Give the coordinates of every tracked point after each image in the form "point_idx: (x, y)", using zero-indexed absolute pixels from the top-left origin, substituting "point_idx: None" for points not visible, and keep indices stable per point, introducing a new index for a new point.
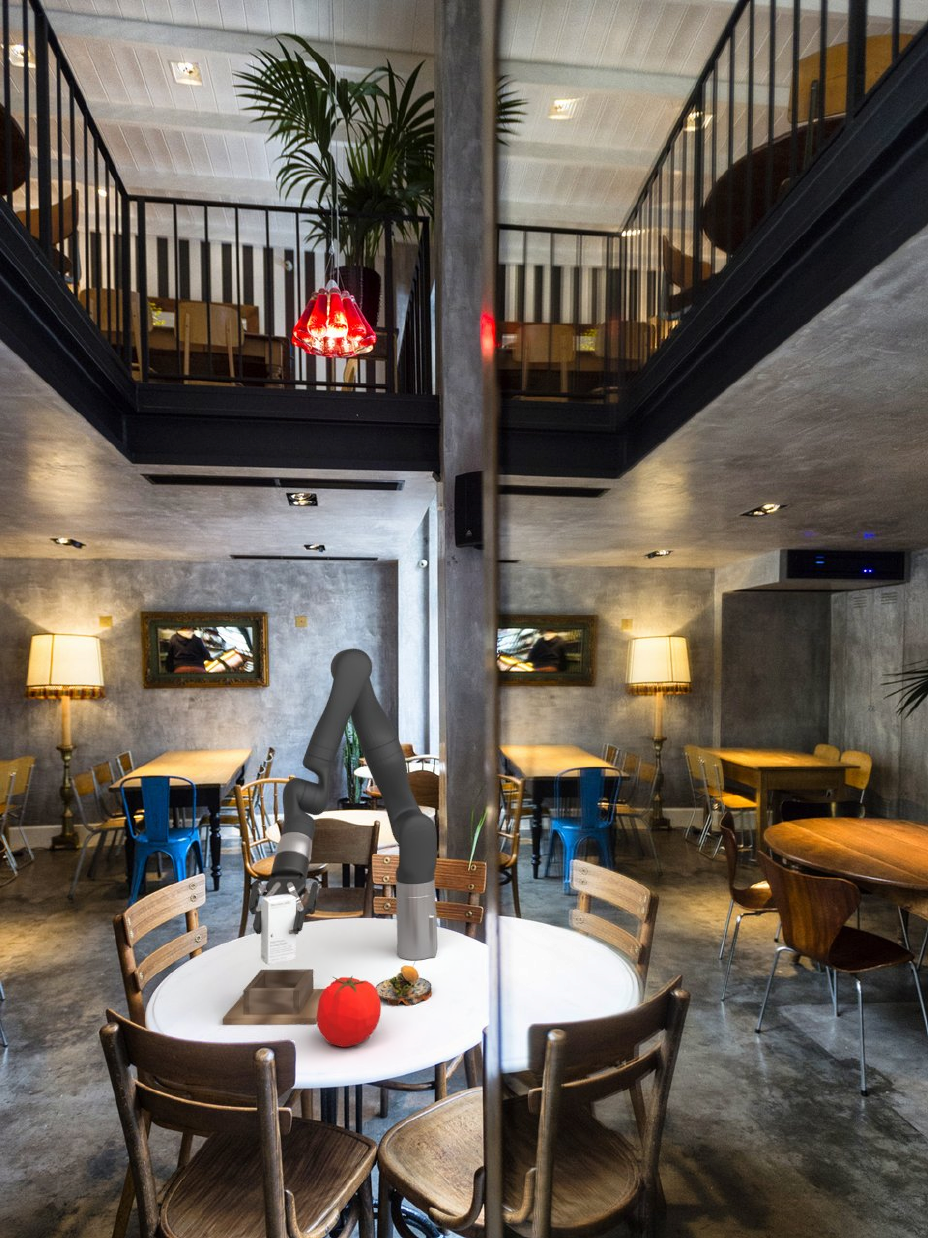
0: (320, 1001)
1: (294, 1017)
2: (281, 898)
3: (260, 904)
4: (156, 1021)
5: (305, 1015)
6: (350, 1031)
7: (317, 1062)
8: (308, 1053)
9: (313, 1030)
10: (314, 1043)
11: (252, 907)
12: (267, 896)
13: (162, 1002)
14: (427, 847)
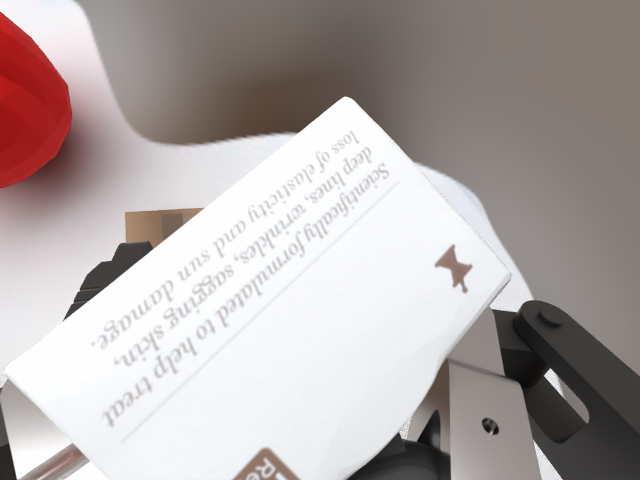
0: (3, 18)
1: (184, 210)
2: (237, 251)
3: (490, 340)
4: (481, 212)
5: (158, 224)
6: None
7: (70, 43)
8: (104, 80)
9: (127, 186)
10: (104, 124)
11: (524, 308)
12: (499, 416)
13: (522, 298)
14: None
